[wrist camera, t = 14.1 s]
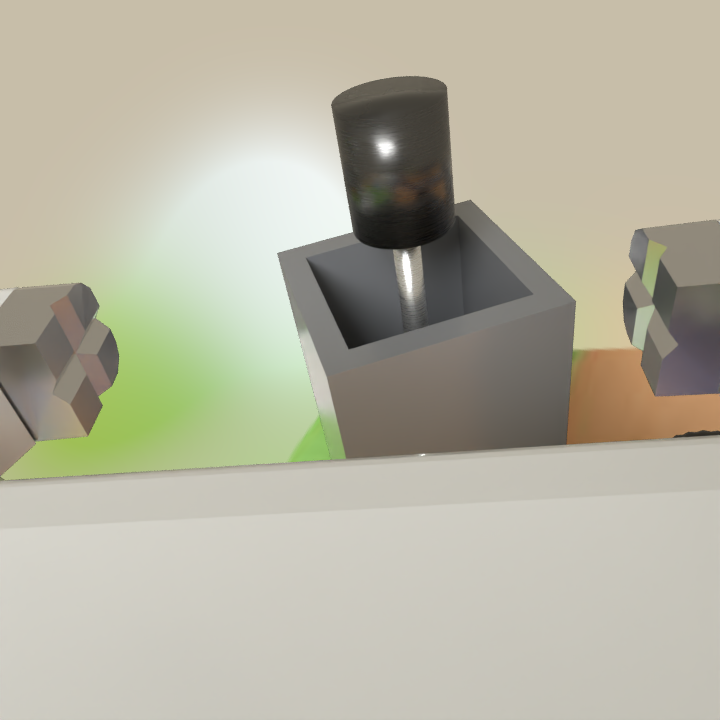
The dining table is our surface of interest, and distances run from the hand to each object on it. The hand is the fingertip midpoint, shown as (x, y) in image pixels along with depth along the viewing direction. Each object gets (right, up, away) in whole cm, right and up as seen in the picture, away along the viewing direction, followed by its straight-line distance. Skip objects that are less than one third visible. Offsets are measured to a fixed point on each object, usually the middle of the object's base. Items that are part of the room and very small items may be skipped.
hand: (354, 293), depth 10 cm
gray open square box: (+4, -10, +25) cm, 27 cm away
